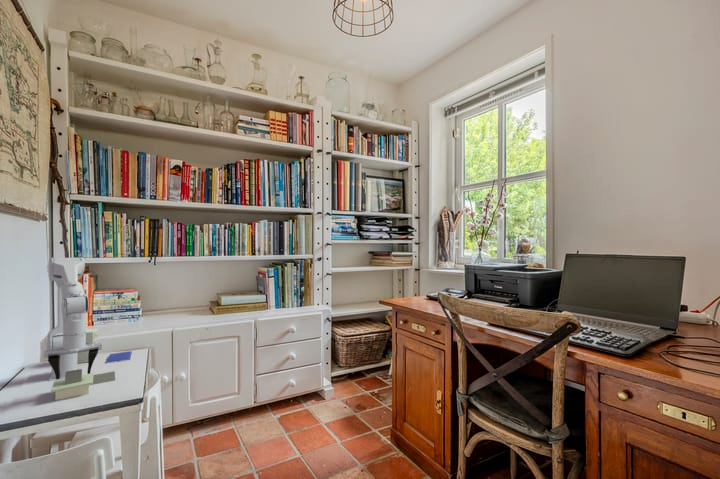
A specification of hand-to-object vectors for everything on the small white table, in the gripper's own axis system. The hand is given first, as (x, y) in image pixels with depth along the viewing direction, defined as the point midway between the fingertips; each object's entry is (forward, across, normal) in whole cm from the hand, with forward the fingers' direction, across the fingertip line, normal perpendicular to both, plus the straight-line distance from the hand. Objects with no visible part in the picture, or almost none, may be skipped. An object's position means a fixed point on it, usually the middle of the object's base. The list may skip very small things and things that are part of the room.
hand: (73, 375), depth 109 cm
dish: (+6, 0, 0) cm, 6 cm away
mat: (+6, +6, +10) cm, 13 cm away
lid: (+2, 0, 0) cm, 2 cm away
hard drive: (+7, +13, +34) cm, 37 cm away
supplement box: (+6, +1, +40) cm, 40 cm away
